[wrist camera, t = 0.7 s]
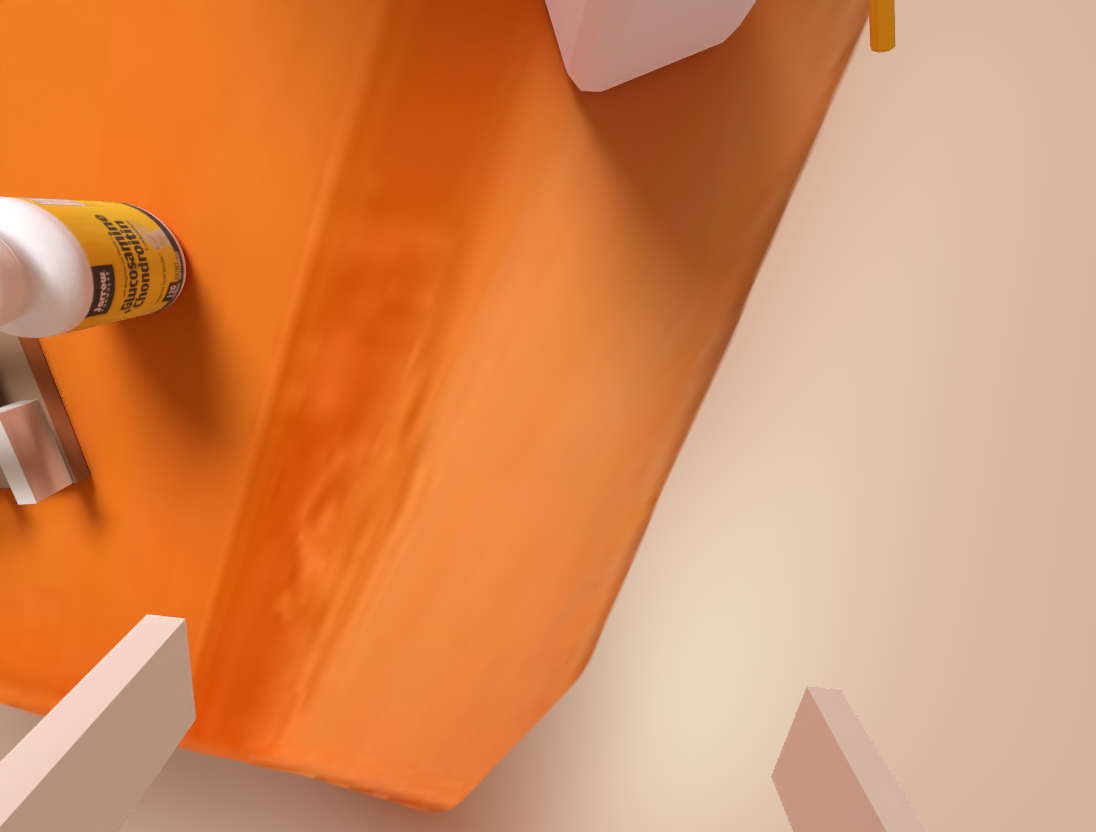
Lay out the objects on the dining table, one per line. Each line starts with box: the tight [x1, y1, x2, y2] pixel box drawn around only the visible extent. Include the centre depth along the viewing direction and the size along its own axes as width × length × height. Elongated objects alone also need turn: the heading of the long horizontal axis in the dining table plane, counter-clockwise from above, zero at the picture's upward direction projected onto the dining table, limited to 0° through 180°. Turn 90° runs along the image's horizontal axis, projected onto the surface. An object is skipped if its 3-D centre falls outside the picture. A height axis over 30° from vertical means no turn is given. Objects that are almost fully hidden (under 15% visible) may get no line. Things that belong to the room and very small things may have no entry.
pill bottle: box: [0, 197, 186, 338], centre depth 28 cm, size 6×6×12 cm
